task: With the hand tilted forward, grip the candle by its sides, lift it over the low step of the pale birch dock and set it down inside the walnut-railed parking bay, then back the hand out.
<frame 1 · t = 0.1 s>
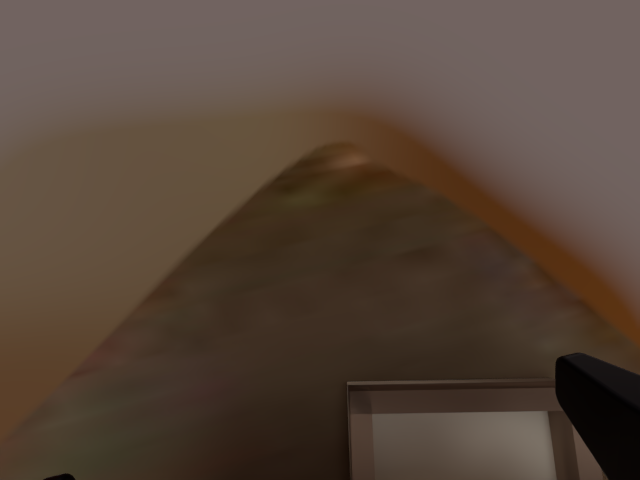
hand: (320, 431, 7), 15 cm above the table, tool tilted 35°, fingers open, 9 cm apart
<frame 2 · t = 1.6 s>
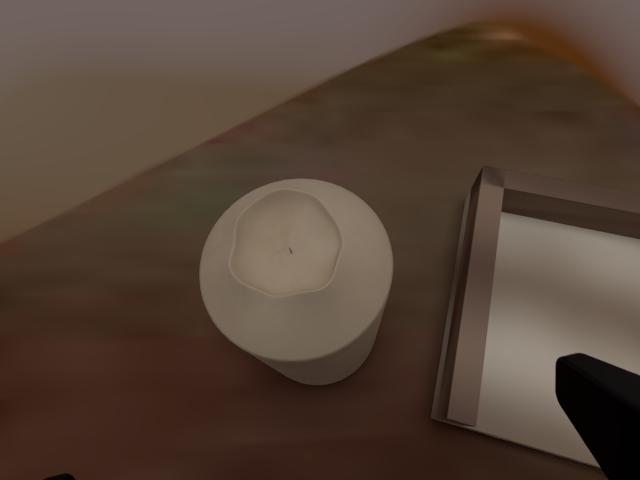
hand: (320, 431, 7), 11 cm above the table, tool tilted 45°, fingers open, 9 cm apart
dock bay: (572, 326, 18), on the table
candle: (318, 326, 19), on the table
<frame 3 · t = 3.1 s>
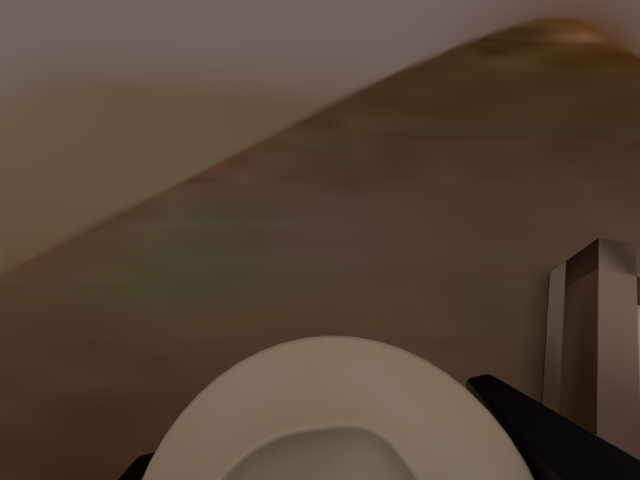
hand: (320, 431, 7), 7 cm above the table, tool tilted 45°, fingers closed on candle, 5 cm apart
candle: (344, 470, 13), on the table, touching gripper
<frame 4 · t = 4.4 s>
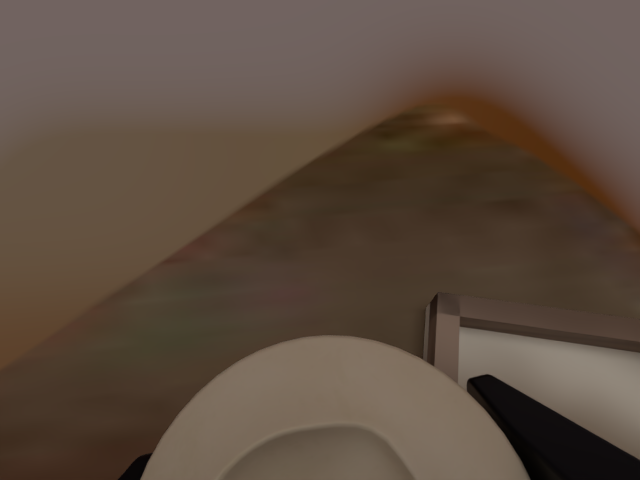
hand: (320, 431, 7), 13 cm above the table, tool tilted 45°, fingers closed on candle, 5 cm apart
dock bay: (539, 440, 18), on the table
candle: (342, 469, 13), point 6 cm above the table, touching gripper
when the fingers open (9 cm above the table, at t = 6.1 s): candle drops 1 cm, resting on dock bay.
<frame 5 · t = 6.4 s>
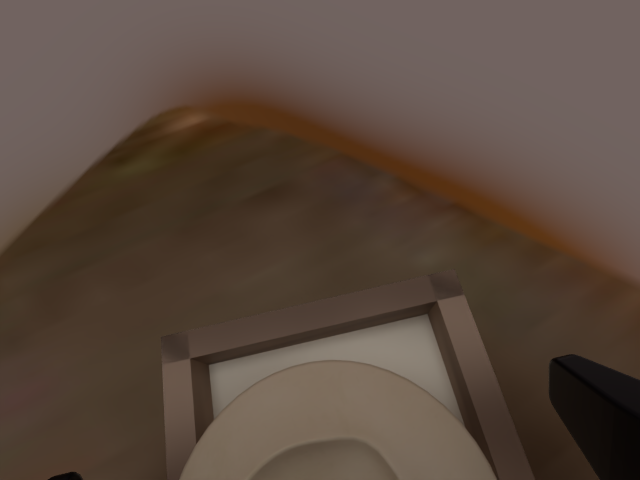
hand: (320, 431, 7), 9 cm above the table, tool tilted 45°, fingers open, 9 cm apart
dock bay: (345, 461, 15), on the table
candle: (345, 470, 14), point 1 cm above the table, touching dock bay
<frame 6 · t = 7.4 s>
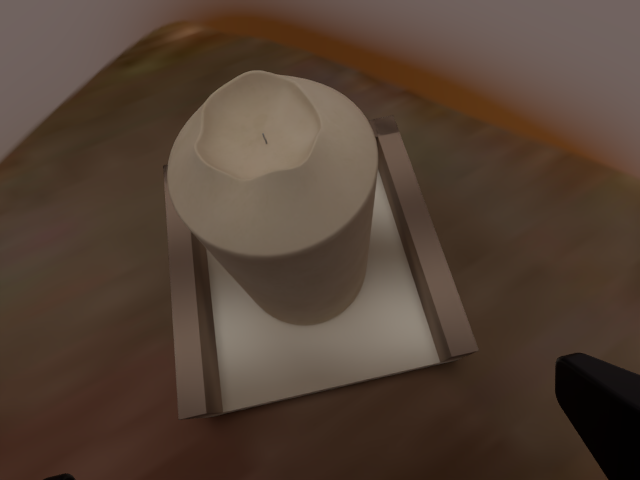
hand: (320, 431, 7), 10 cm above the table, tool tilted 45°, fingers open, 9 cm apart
dock bay: (308, 270, 19), on the table
candle: (306, 267, 18), point 1 cm above the table, touching dock bay
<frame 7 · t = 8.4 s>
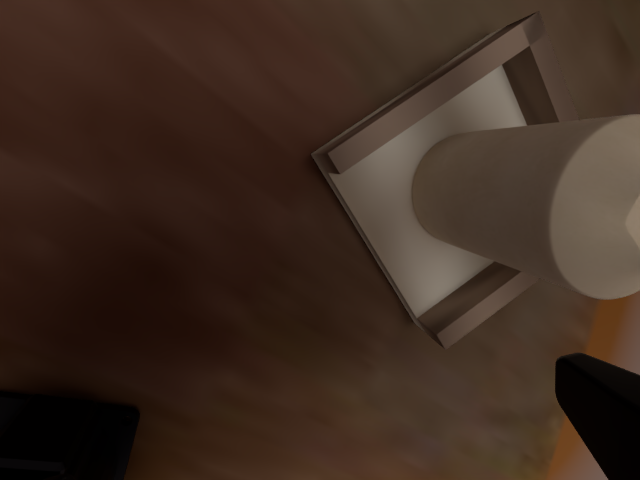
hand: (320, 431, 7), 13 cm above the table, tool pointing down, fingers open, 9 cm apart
dock bay: (450, 186, 21), on the table
candle: (458, 189, 20), point 1 cm above the table, touching dock bay
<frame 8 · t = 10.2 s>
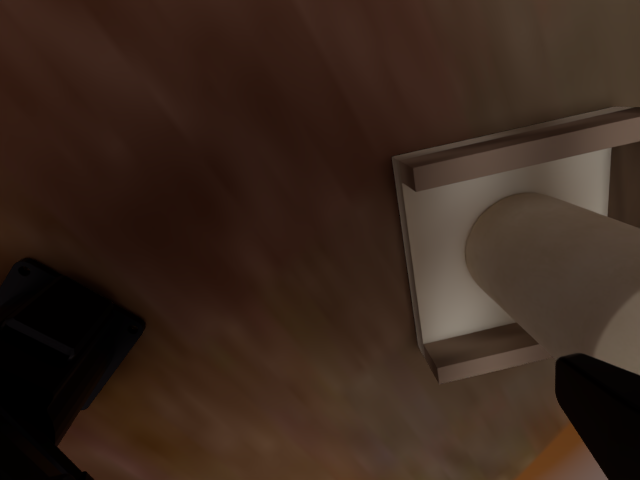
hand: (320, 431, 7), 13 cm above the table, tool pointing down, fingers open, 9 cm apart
dock bay: (507, 237, 21), on the table
candle: (514, 243, 20), point 1 cm above the table, touching dock bay
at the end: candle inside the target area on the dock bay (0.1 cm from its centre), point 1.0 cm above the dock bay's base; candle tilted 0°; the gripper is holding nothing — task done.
